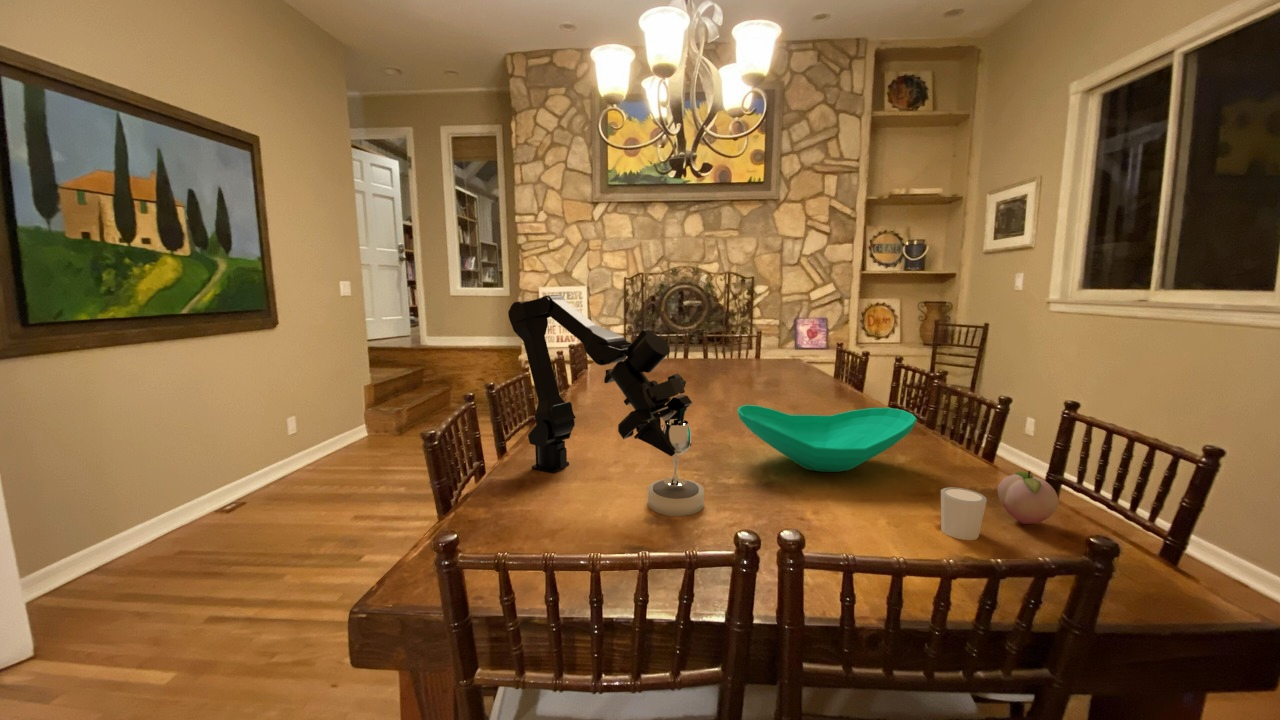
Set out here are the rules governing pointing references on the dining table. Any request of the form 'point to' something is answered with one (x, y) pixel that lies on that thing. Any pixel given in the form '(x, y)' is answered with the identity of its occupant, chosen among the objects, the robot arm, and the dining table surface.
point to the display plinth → (676, 498)
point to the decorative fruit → (1027, 497)
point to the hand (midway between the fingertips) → (681, 450)
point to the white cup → (962, 512)
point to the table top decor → (829, 435)
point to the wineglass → (677, 444)
